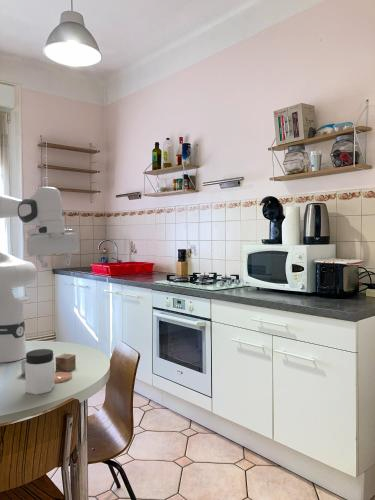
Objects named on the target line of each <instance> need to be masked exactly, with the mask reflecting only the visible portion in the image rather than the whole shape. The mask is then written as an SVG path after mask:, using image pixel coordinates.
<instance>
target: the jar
mask: <svg viewBox="0 0 375 500" xmlns="http://www.w3.org/2000/svg"><path fill="white" fill-rule="evenodd" d="M25 360H26V363H25V376H24V377H25V378H24V379H25V393H27V394H31V395H34V396H35V395H42V394H46V393H51V392H52V391H53V389H54V388H55V386H56V385H55V384H56V383H55V373H56V372H55V358H54V350H52V349H50V348H49V349H47V348H40V349H33V350H30V351H29V350H28V352H27V353H26V358H25Z"/></svg>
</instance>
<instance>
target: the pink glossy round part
mask: <svg viewBox="0 0 375 500" xmlns="http://www.w3.org/2000/svg"><path fill="white" fill-rule="evenodd" d="M54 373H55V384H61V383H65V382H68V381H70V380H72V378H73V374H72V373H71V372H62V371H56V372H54Z"/></svg>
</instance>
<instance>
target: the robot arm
mask: <svg viewBox="0 0 375 500" xmlns="http://www.w3.org/2000/svg"><path fill="white" fill-rule="evenodd" d="M15 217H16V218H17V217H18V218H19V220H20V221H21V222H23V223H25V224H31V225H37V226H35V227H32V228H30V229H28V230H26V234H27V236H28V237H27V239H26V254H27V255H28V256H29V257H30V256H31V257H32V256H34V257H35V256H37V257H36V258H37V260H38V261H39V263H40V264H41V268H43V269H44V268H48V262H46V261H45V259H44V258H45V256H49V255H50V256H51V255H60V254H65V257H66V258H65V260H64V261H63V265H64V266H71V259H72V257H73V256H72V254H75V253H79V252H80V244H79V238H78V232H77V231H76V230H74V229H72V228H70V229H68V228H66V227H65V219H64V207H63V199H62V196H61V192H60V190H59V189H58V188H57V187H53V186H39V187H38V188H37V189H36V191H35V192H34V193H33V194H32V195H30V196H29V197H27V198H24V199H19V198H16V197H12V196H8V195H6V194H2V193H0V219H5V218H15ZM37 274H38V271H37V267H36V265H35V264H34V263H33V262H31V261H28V260H24V259H21V258H18V257H15V256H13V255H12V254H9V253H6V252H4V251H2V250H0V363H8V362H9V363H10V362H11V363H12V362H15V361H20V360H23V359H26V353H27V352H29V349H28V348H27V342H26V335H25V331H26V329H25V328H26V327H25V326H26V324H25V323H26V322H25V321H24V304H23V302H22V301H21V299H19V298H18V297H15V295H14V294H13V293H14V292H13V289H15V288H21V287H26V286H28V285H30V284H32V283H34V282H35V280H36V279H37V276H38V275H37Z"/></svg>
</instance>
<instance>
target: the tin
mask: <svg viewBox="0 0 375 500" xmlns="http://www.w3.org/2000/svg"><path fill="white" fill-rule="evenodd" d="M25 363H26V359H25V360H22V361H21V362H20V365H21V376H22V377H25Z"/></svg>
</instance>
